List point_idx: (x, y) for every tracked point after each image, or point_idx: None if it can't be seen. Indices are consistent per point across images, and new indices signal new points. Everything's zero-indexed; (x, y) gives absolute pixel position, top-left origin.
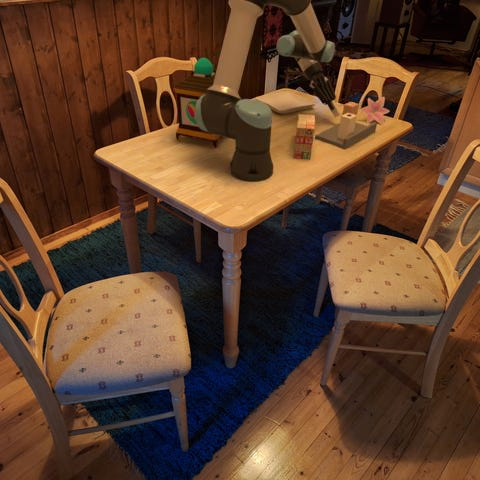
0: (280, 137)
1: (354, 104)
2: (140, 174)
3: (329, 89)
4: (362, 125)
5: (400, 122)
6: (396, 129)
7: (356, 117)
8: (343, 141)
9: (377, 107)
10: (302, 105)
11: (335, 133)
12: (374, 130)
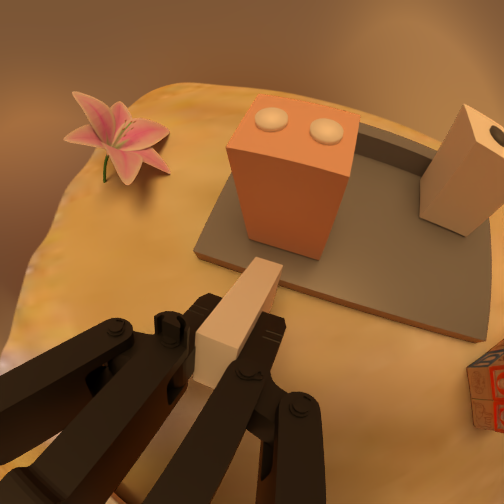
0: (495, 459)
1: (289, 111)
2: None
3: (44, 410)
4: None
5: (138, 104)
6: (202, 94)
7: (461, 112)
8: None
9: (104, 125)
10: None
11: (428, 260)
12: None
